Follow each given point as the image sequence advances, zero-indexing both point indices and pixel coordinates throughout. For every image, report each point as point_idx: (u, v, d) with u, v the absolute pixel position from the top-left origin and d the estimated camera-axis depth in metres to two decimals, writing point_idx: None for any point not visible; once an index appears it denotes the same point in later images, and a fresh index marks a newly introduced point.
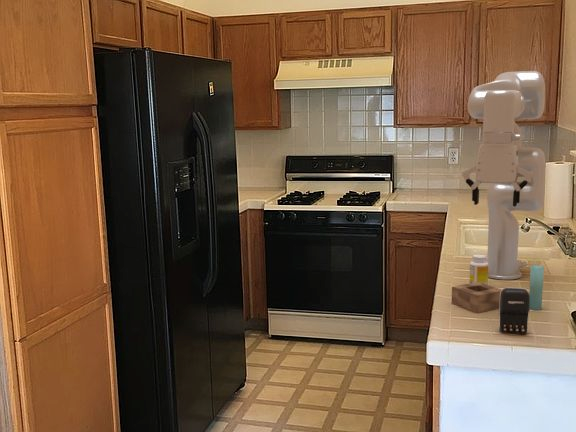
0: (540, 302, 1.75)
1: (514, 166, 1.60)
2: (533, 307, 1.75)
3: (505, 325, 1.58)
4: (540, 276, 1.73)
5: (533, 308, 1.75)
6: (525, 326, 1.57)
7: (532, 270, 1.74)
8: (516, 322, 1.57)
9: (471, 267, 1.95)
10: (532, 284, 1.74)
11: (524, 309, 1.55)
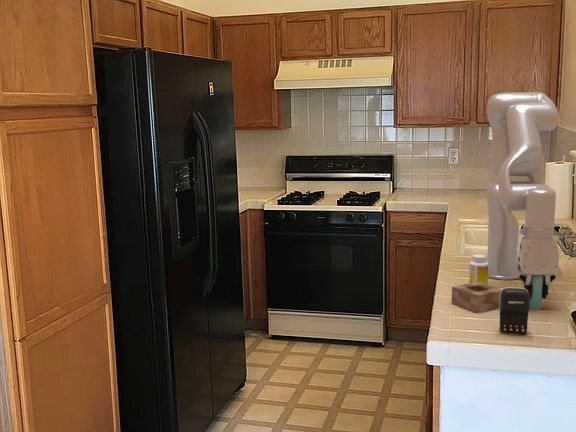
0: (540, 302, 1.75)
1: None
2: (533, 307, 1.75)
3: (505, 325, 1.58)
4: (540, 276, 1.73)
5: (533, 308, 1.75)
6: (525, 326, 1.57)
7: None
8: (516, 322, 1.57)
9: (471, 267, 1.95)
10: (532, 284, 1.74)
11: (524, 309, 1.55)
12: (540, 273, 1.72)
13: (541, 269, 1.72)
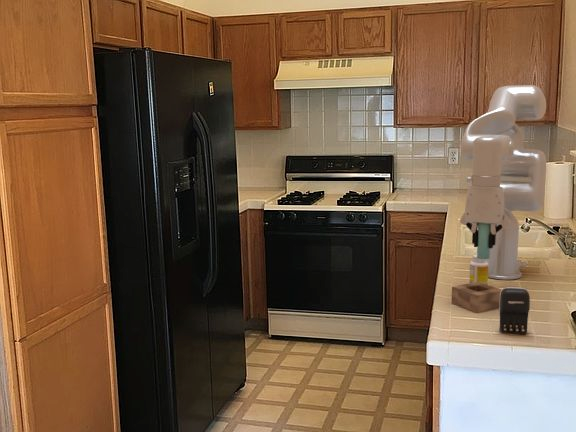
0: (486, 251, 1.75)
1: None
2: (479, 256, 1.76)
3: (505, 325, 1.58)
4: (485, 224, 1.74)
5: (479, 257, 1.76)
6: (525, 326, 1.57)
7: None
8: (516, 322, 1.58)
9: (471, 267, 1.95)
10: (478, 232, 1.75)
11: (524, 309, 1.55)
12: (482, 221, 1.73)
13: (483, 217, 1.73)
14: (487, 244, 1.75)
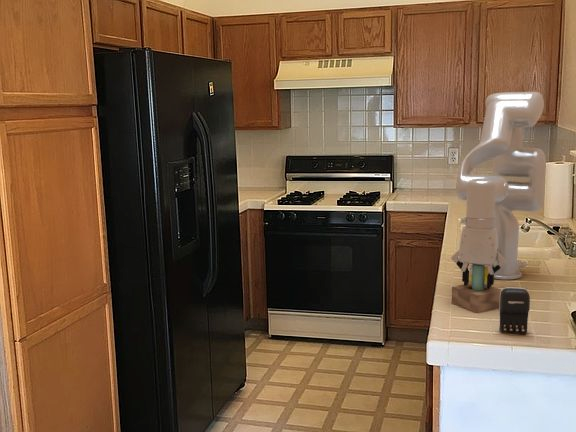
0: None
1: None
2: None
3: (505, 325, 1.58)
4: (478, 274, 1.77)
5: None
6: (525, 326, 1.57)
7: (472, 267, 1.78)
8: (516, 322, 1.58)
9: (471, 267, 1.95)
10: (472, 281, 1.78)
11: (524, 309, 1.55)
12: (476, 262, 1.75)
13: (477, 258, 1.75)
14: None
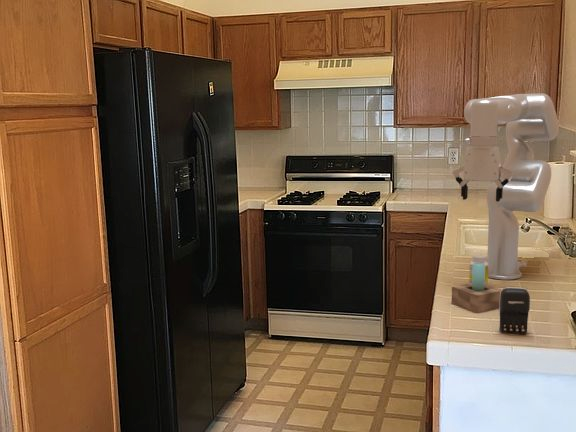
0: None
1: None
2: None
3: (505, 325, 1.58)
4: (479, 274, 1.76)
5: None
6: (525, 326, 1.57)
7: (473, 267, 1.78)
8: (516, 322, 1.57)
9: (471, 267, 1.95)
10: (472, 281, 1.78)
11: (524, 309, 1.55)
12: (480, 179, 1.85)
13: (481, 175, 1.84)
14: None
